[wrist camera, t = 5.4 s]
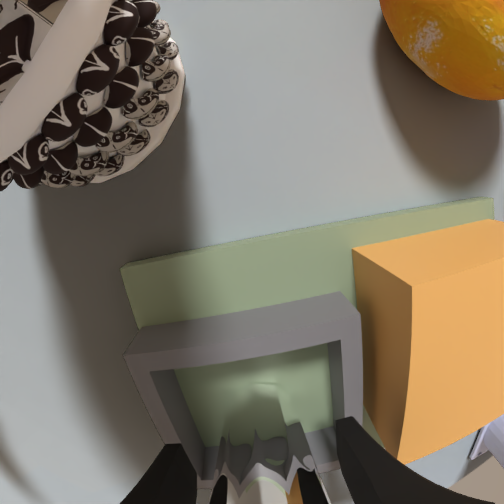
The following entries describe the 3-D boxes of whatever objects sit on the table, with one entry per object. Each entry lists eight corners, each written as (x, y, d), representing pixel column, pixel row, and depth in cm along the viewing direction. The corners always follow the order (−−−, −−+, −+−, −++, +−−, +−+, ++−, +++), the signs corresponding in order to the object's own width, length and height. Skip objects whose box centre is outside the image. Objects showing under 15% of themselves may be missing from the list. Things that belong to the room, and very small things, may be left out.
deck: (481, 196, 13) (565, 209, 7) (463, 402, 16) (507, 452, 10) (127, 263, 13) (58, 315, 7) (206, 470, 16) (199, 544, 10)
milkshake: (273, 453, 15) (291, 611, 5) (195, 409, 14) (164, 596, 4) (335, 407, 14) (398, 577, 4) (257, 353, 13) (277, 582, 3)
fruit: (447, 140, 9) (582, 12, 2) (314, 3, 10) (386, -119, 3) (495, 125, 12) (576, 52, 5) (405, 24, 14) (464, -53, 7)
